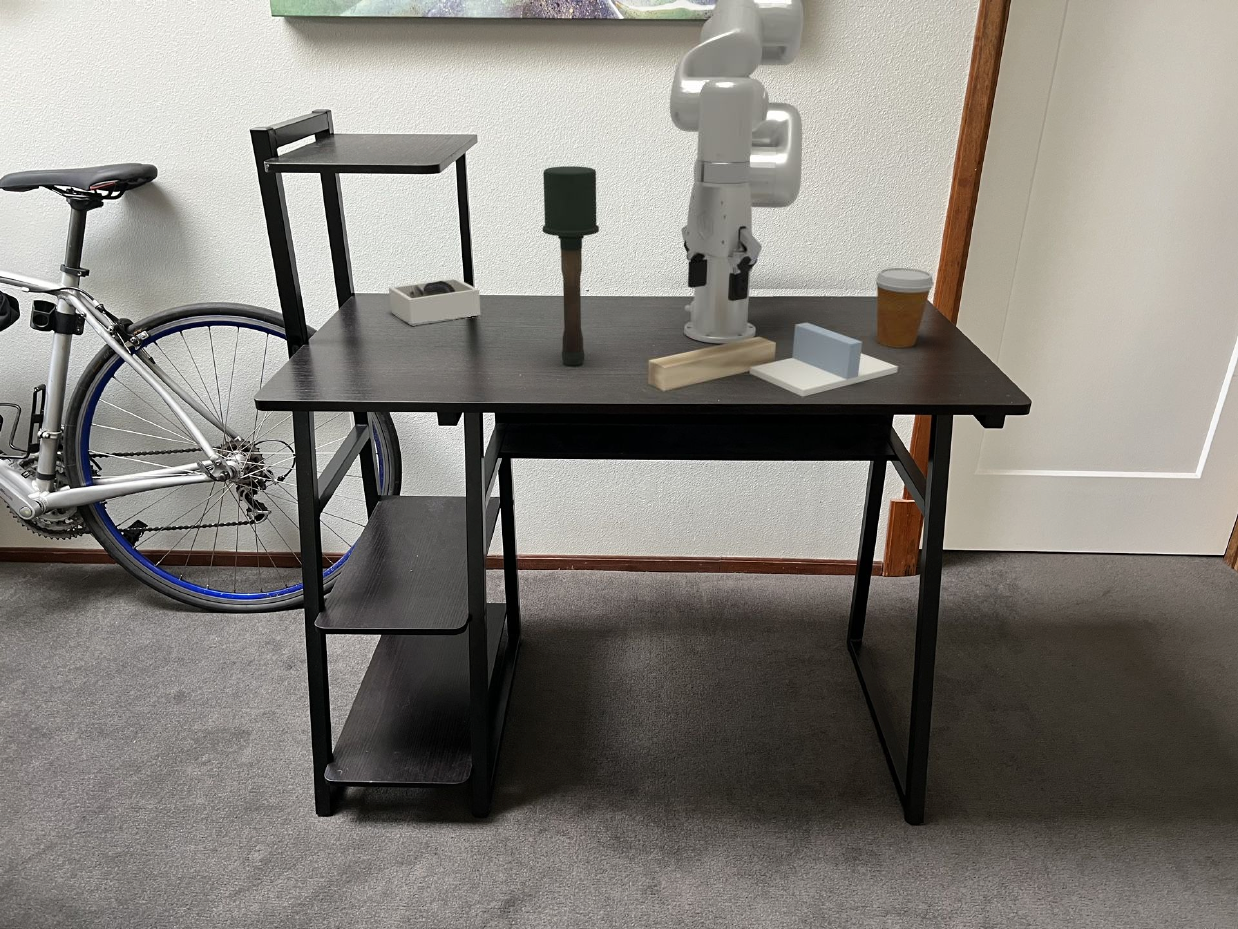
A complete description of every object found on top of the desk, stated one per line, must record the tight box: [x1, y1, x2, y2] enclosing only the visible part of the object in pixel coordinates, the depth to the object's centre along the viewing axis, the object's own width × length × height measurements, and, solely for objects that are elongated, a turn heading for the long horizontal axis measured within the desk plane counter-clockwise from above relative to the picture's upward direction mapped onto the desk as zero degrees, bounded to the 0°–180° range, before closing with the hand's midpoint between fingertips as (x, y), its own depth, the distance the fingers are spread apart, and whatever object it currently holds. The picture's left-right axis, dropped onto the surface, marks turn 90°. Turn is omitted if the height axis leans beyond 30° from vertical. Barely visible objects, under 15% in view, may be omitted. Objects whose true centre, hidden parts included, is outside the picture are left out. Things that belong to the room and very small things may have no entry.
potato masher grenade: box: [542, 165, 600, 366], centre depth 140 cm, size 8×9×30 cm
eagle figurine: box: [407, 280, 455, 298], centre depth 171 cm, size 8×7×9 cm
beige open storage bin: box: [388, 277, 482, 324], centre depth 171 cm, size 11×14×5 cm
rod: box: [647, 336, 777, 392], centre depth 142 cm, size 4×22×4 cm, turn 124°
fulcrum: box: [749, 322, 899, 397], centre depth 142 cm, size 12×20×6 cm, turn 123°
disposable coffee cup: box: [874, 267, 935, 349], centre depth 155 cm, size 10×10×12 cm
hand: (716, 292), depth 136 cm, fingers open, 9 cm apart
